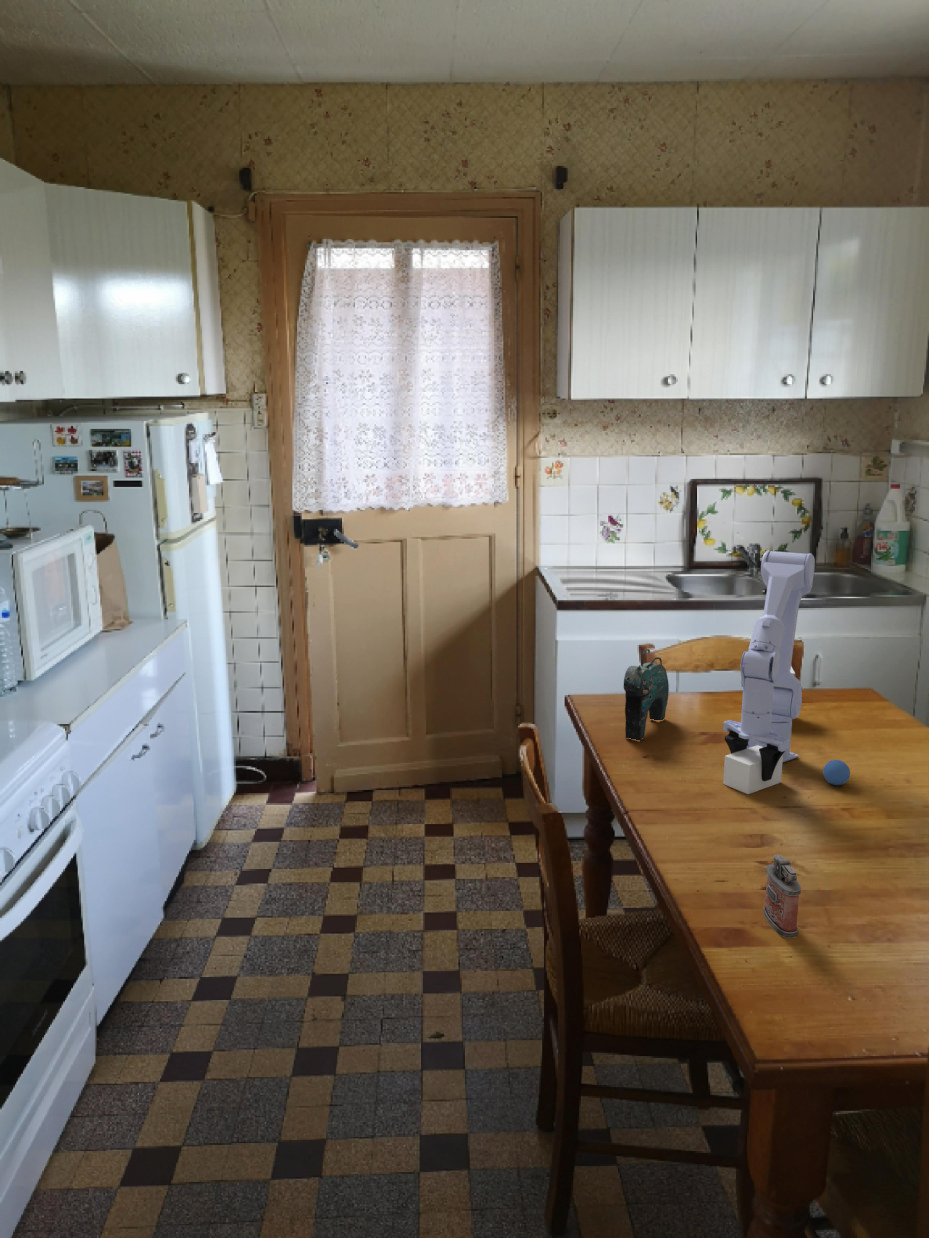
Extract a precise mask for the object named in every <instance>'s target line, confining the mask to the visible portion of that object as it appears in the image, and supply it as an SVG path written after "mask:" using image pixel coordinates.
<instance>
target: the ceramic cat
mask: <svg viewBox="0 0 929 1238" xmlns="http://www.w3.org/2000/svg"><path fill="white" fill-rule="evenodd" d="M646 652H647V653H648V654H650V653H651V650H650V649H649V648H646V649H644V650H643V651H642V653H641V659H640V660H641V662H640V665H630V666H628V668H626V671H625V673H624V677H623V690H624V692H625V695H624V698H625V706H624V713H625V714H624V715H625V728H624V730H625V739H626V738H631V739H636V740H641V739H642V738H645V733H646V727H647V720H648V719H649V718H650V719H654V720H663V719H664V718H665V719H666V710H667V706H668V700H669V693H670V690H669V689H670V687H669V686H670V685H669V684H670V683H669V678H668V672H667V669H666V668H665V666H664V665H663V661H662V657H660V656H656V657H654V658H652V659H651V660H650V662H644V656H645V654H646ZM656 660H658V661H659V663H655V661H656ZM648 717H649V718H648ZM665 719H664V720H665ZM641 741H642V740H641Z"/></svg>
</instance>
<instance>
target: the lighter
mask: <svg viewBox="0 0 929 1238" xmlns="http://www.w3.org/2000/svg"><path fill="white" fill-rule="evenodd" d="M765 867H766V868H765V869H766V871H765V872H766V885H765V886H766V888H765V900H764V905H763V907H762V908H763V910H762V911H763V912H762V913H763V915H764V918H765V920H766V921H767V923H768V924H769V926H770V927H771V928H772V929H773V931H775V932H776V933H777V934H778V935H779V936H781V937H782V938H785V939H794V938H797V936H798V932H799V929H798V926H797V925H798V915H799V914H798V912H799V900H800V899H799V898H800V895H801V892H802V887H801V884H800V883H799V881H798V873H797V872H796V870H795V869H794V868H793V867H792V866H791V862H790V859H789V858H784V857H783V855H781V854H774V855H773V863H770V864H768V865H766V866H765Z"/></svg>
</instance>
